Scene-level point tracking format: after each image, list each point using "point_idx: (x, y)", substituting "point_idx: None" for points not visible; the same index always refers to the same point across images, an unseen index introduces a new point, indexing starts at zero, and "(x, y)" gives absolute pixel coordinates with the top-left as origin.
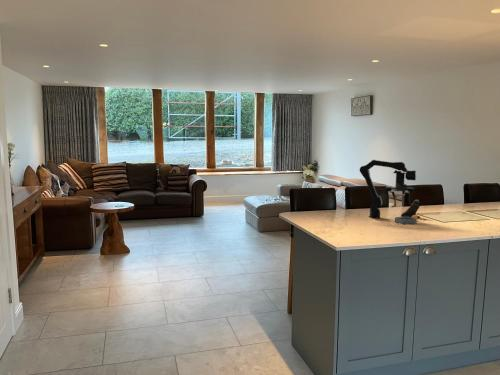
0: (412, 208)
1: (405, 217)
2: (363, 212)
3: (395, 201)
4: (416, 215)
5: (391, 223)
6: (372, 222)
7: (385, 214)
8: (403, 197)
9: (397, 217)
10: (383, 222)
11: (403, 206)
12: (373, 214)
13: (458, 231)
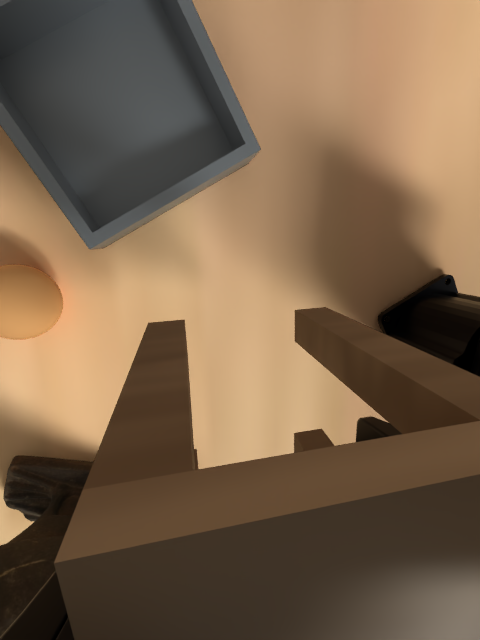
0: (51, 557)
1: (127, 212)
2: None
3: (358, 337)
4: (41, 514)
5: (278, 3)
6: (466, 16)
7: None
8: (139, 442)
9: (226, 156)
10: (361, 53)
11: (155, 323)
12: (463, 299)
13: None
